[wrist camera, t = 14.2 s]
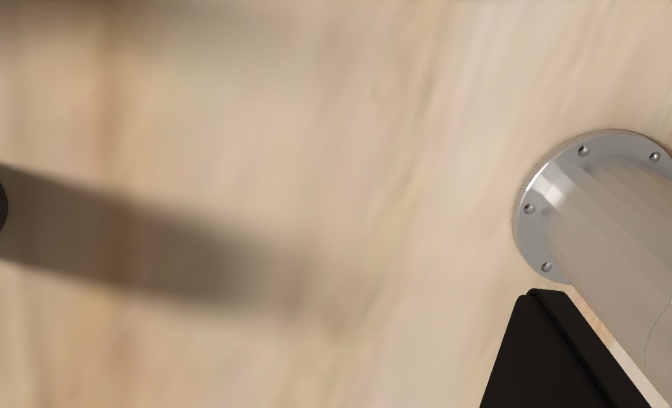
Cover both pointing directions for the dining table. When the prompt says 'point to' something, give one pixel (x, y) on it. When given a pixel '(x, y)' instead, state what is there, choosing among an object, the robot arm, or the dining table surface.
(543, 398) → the robot arm
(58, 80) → the dining table surface
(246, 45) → the dining table surface
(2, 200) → the travel mug
